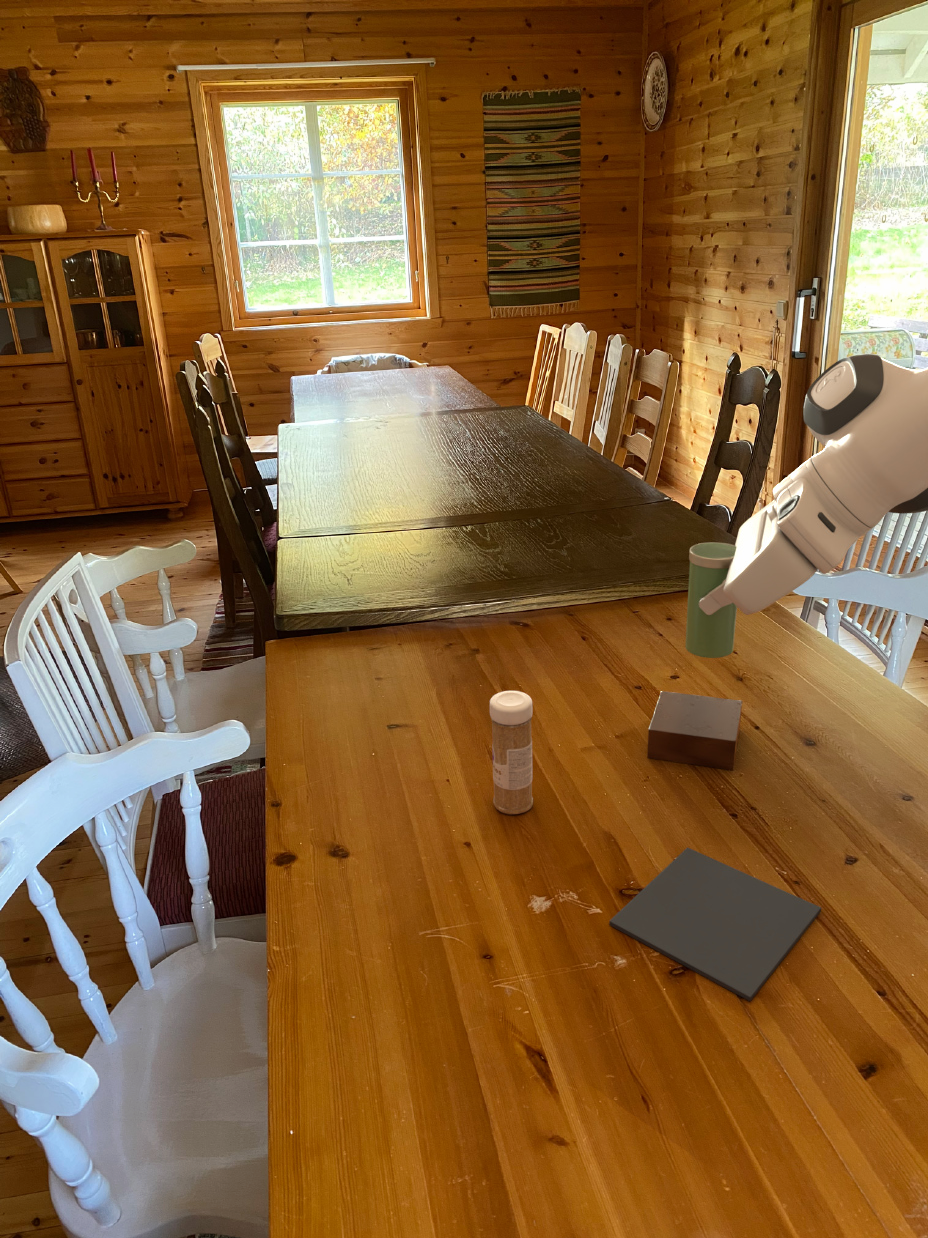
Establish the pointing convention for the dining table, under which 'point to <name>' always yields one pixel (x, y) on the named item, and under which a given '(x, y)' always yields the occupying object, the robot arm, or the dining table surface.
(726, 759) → the walnut block
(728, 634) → the green canister
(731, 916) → the rubber mat
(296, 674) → the dining table surface
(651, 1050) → the dining table surface
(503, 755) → the sprinkles bottle
